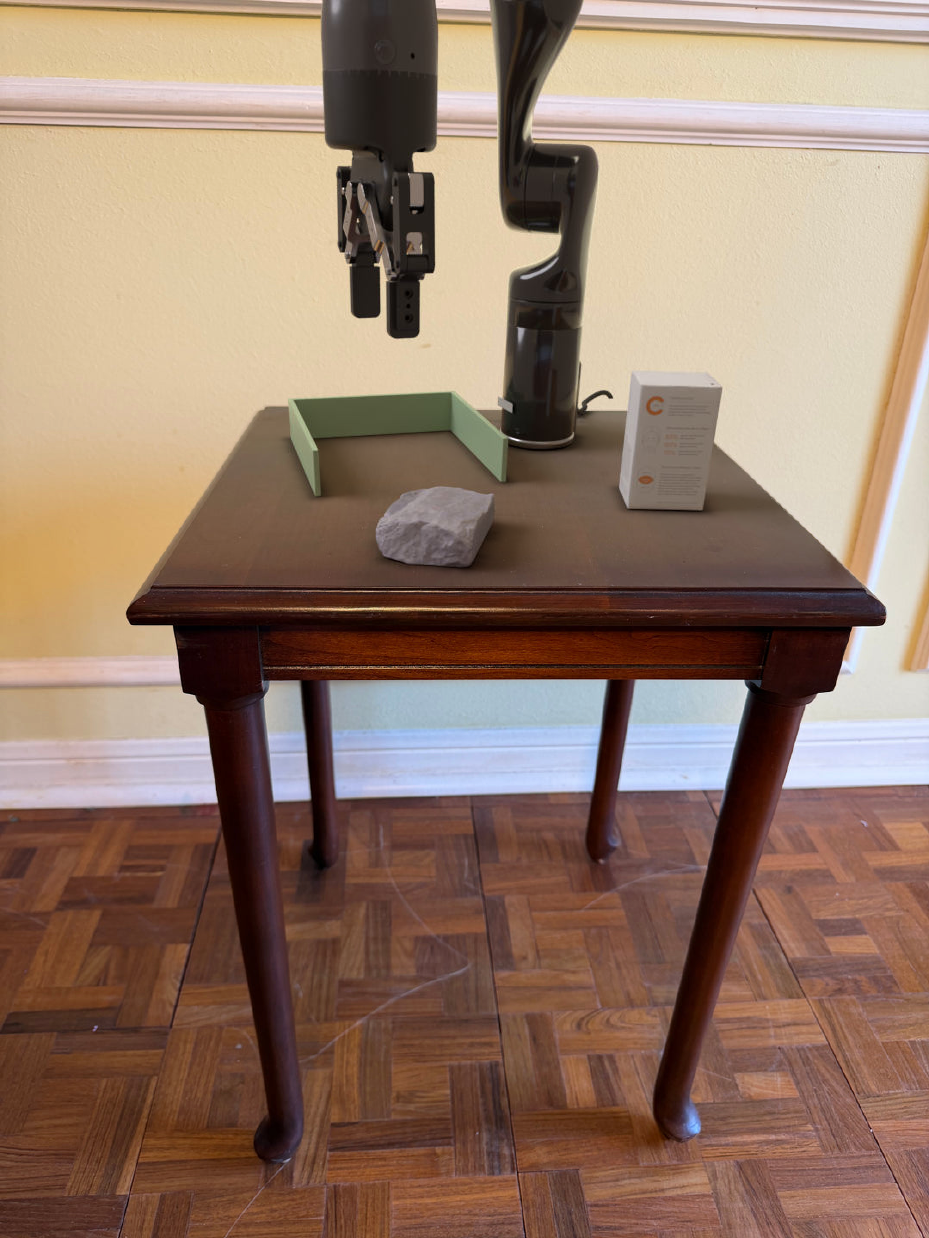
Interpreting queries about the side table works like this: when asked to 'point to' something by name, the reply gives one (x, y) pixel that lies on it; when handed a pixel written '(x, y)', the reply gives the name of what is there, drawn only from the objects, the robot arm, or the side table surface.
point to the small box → (669, 439)
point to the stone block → (436, 526)
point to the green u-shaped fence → (392, 424)
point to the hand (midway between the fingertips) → (383, 327)
